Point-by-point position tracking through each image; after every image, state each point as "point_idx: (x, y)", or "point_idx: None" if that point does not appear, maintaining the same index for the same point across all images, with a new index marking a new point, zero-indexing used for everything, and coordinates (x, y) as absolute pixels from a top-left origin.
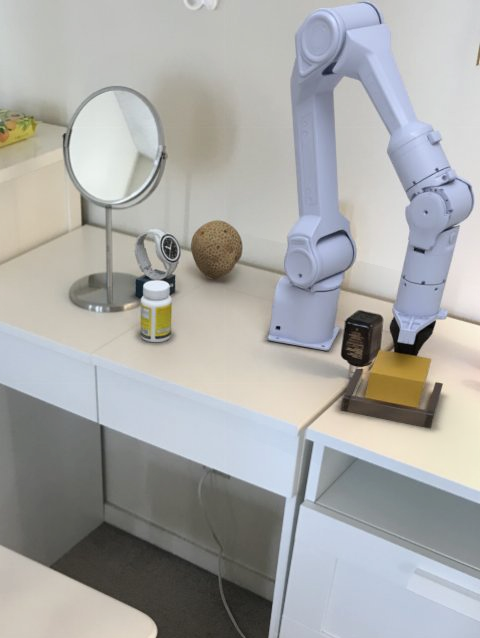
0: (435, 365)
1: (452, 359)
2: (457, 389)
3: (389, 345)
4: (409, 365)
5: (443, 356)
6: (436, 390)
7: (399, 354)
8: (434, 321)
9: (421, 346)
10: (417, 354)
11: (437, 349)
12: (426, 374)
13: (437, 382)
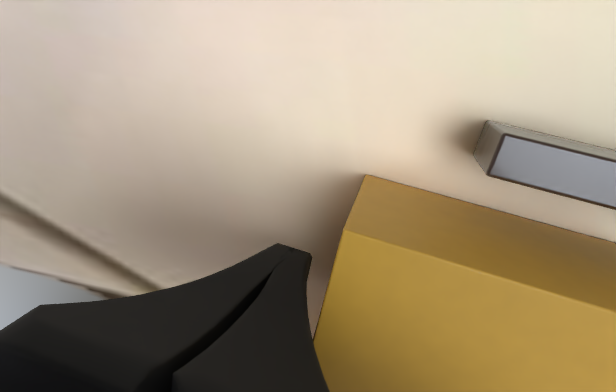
0: (174, 100)
1: (96, 12)
2: (398, 12)
3: (75, 255)
4: (464, 379)
5: (84, 53)
6: (608, 187)
7: None
8: (36, 369)
9: (313, 351)
10: (304, 303)
11: (35, 74)
12: (609, 311)
13: (495, 165)
